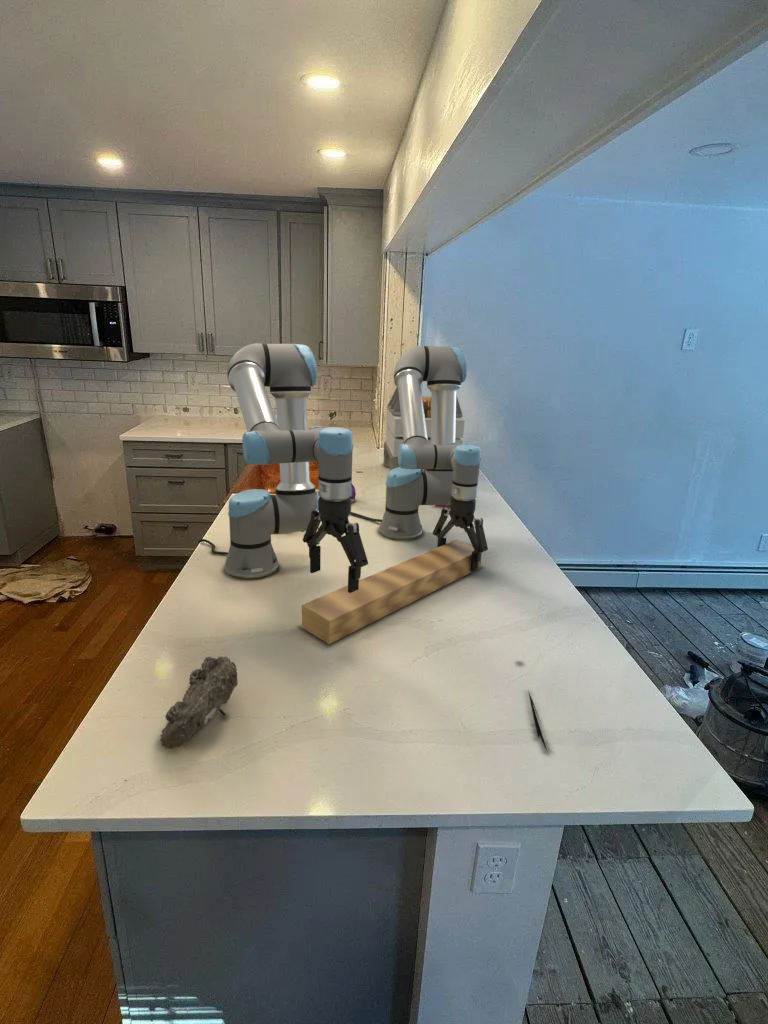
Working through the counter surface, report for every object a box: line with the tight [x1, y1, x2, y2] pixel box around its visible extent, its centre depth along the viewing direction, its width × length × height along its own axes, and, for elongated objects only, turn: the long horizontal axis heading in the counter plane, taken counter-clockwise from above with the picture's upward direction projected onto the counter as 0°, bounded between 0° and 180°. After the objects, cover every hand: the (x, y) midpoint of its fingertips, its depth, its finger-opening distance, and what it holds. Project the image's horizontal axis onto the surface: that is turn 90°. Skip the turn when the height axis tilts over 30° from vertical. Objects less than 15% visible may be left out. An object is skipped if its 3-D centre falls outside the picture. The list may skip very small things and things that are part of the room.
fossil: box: [160, 656, 239, 749], centre depth 107 cm, size 22×10×15 cm
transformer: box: [383, 387, 465, 471], centre depth 268 cm, size 34×33×41 cm
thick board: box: [301, 539, 483, 645], centre depth 157 cm, size 63×10×6 cm, turn 137°
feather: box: [528, 689, 548, 751], centre depth 116 cm, size 2×28×2 cm
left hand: (333, 580), depth 136 cm, fingers open, 13 cm apart
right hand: (457, 564), depth 175 cm, fingers open, 12 cm apart
